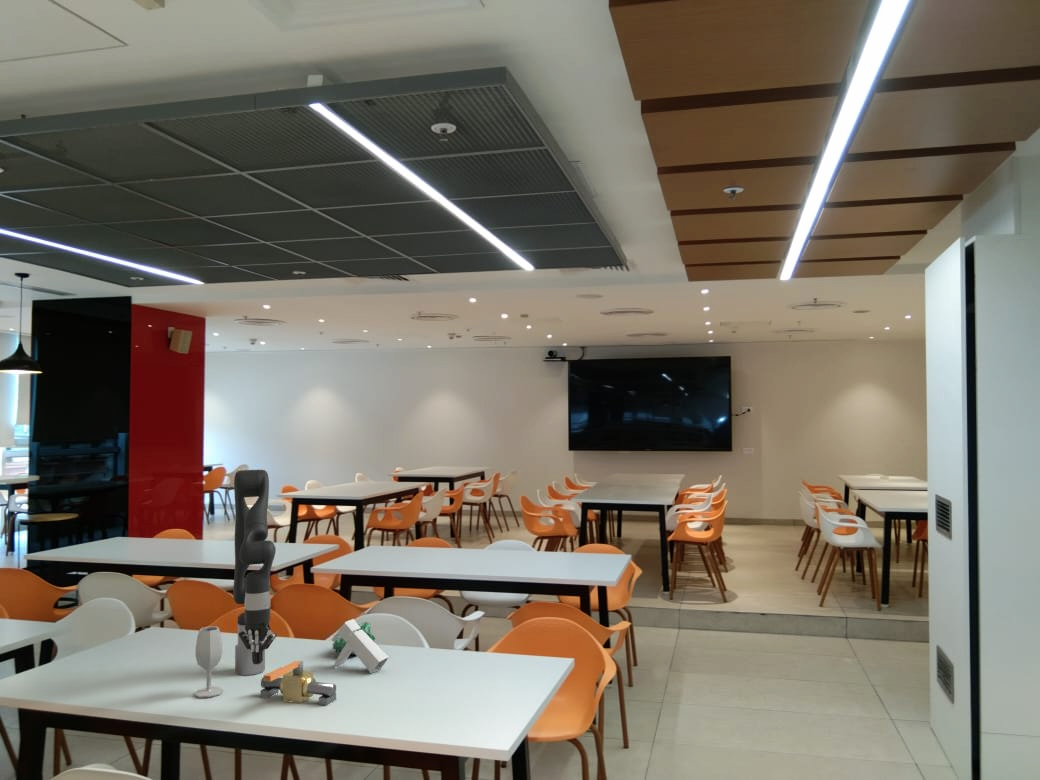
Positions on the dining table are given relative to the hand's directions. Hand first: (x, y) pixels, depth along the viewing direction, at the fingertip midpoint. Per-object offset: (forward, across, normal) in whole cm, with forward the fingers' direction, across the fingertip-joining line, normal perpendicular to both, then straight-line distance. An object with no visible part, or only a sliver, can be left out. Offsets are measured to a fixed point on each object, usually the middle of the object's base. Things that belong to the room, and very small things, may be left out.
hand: (257, 663), depth 230 cm
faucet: (+14, +9, +44) cm, 47 cm away
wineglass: (+14, -25, +7) cm, 30 cm away
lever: (+6, +6, +5) cm, 10 cm away
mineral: (+14, -4, +61) cm, 62 cm away
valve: (+14, +6, +12) cm, 19 cm away
